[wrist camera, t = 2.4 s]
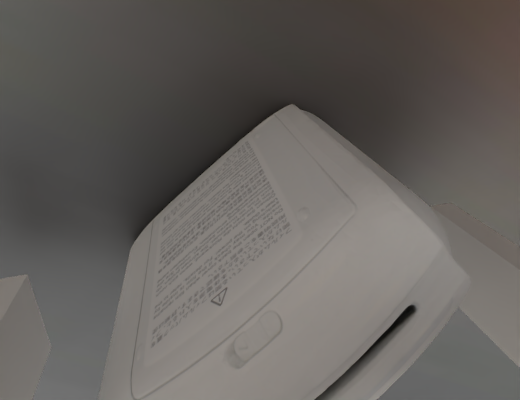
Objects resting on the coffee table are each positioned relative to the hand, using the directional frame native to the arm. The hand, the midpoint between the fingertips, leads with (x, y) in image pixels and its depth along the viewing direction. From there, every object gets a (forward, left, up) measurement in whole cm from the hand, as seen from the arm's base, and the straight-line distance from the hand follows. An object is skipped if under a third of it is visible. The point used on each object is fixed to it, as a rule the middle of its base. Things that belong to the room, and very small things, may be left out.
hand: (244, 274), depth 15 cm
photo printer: (0, 0, -6) cm, 6 cm away
